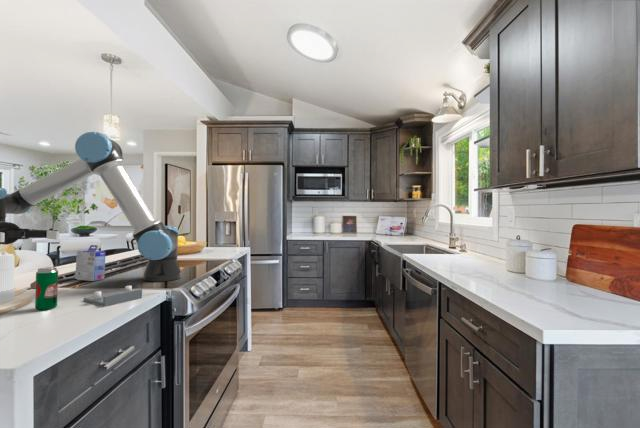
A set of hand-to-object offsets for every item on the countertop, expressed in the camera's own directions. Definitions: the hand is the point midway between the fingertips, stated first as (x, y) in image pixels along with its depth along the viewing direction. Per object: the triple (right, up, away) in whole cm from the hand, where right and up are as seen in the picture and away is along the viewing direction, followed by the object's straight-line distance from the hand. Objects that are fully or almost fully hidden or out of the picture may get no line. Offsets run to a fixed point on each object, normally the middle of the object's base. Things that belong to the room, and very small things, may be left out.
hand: (32, 236), depth 100 cm
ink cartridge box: (-8, -21, +37) cm, 43 cm away
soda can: (+8, -21, -4) cm, 23 cm away
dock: (+21, -22, +7) cm, 31 cm away
